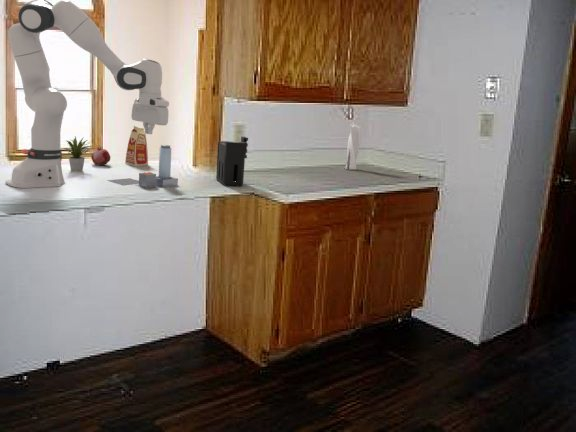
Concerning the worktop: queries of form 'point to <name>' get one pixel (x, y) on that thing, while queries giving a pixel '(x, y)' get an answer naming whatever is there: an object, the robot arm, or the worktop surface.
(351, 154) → the skyscraper
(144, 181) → the filter head
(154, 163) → the worktop surface
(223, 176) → the black machined bracket
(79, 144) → the house plant
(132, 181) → the mat
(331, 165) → the worktop surface
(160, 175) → the block
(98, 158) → the fruit
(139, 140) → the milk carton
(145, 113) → the robot arm
